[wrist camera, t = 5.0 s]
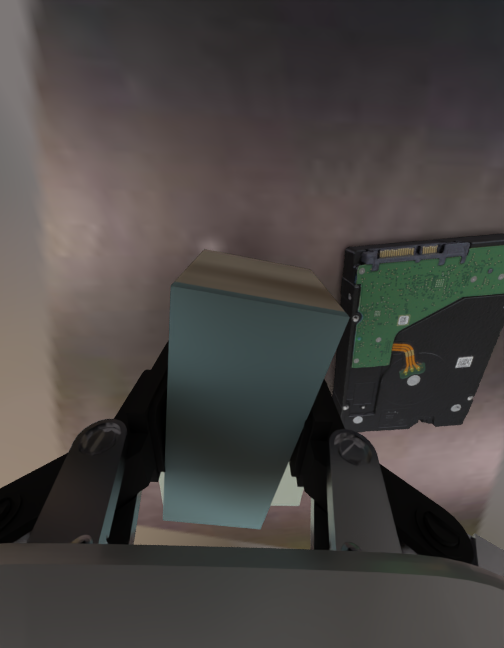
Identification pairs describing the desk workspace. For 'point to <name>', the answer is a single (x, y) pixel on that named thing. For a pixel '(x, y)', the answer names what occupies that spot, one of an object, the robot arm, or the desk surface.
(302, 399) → the teal-faced wooden block
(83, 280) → the desk surface
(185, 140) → the desk surface
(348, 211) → the desk surface
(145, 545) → the robot arm
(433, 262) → the disk drive
